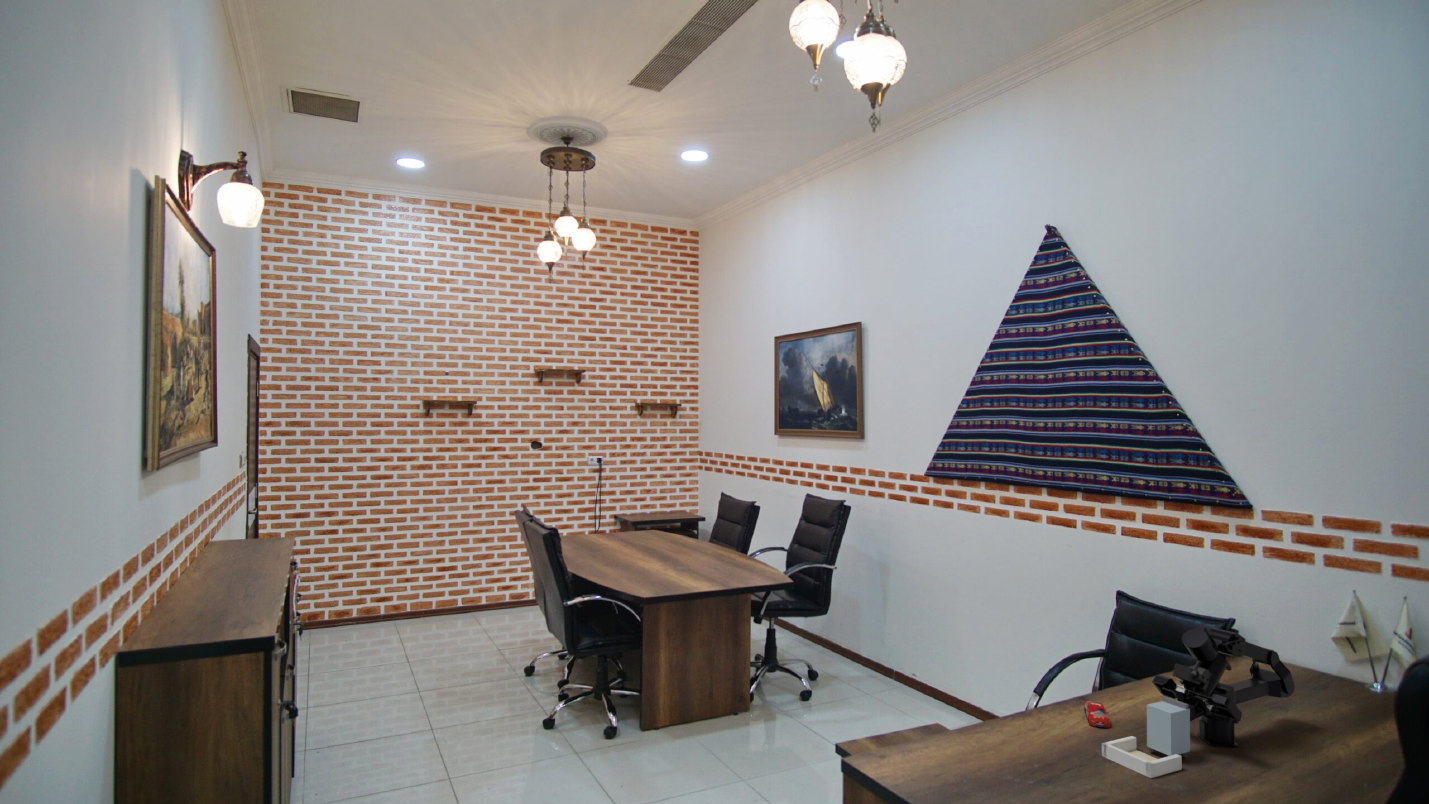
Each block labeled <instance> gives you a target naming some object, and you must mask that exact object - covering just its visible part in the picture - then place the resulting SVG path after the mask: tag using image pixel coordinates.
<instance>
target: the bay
mask: <svg viewBox="0 0 1429 804" xmlns="http://www.w3.org/2000/svg"><path fill="white" fill-rule="evenodd" d="M1101 757H1103V758H1105V759H1107V760H1109V761H1112V762H1113V763H1116V764H1119V765H1121V766H1123V767H1124V768H1127V769H1129V770H1132V771H1134V772H1136V773H1138V774H1141V775H1142V776H1144V777H1147V778H1149V779H1153V778H1157V777H1160V776H1165V775H1168V774H1170V773H1174V772H1177V771H1181V770H1183V769H1182V765H1183V764H1182V761H1183V760H1182V759H1183V758H1182V757H1183V756H1181V754H1178V755H1177V754H1175V755H1171V756H1169V755H1167V756H1164V757H1161V758H1156V757H1154V756H1151V755H1149V754H1147V753H1144V752H1143V751H1140V750H1137V737H1136V736H1133V735H1131V736H1126V737H1122V738H1118V739H1114V740H1113V739H1112V740H1110V741H1106V742H1102V743H1101Z"/></svg>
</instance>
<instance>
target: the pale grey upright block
mask: <svg viewBox="0 0 1429 804" xmlns="http://www.w3.org/2000/svg"><path fill="white" fill-rule="evenodd" d="M1146 747H1148V751H1149V752H1151V753H1154V754H1155V753H1156V752H1157V751H1158V752H1159V753H1162V754H1164V755H1167V756H1171V755H1175V754H1177V755H1180V756H1182V757H1183V758H1188V757H1189V754H1190V752H1191V721H1190V709H1189V708H1188V704H1186V703H1183V702H1180V701H1178V700H1177V699H1172V698H1169V697H1166V696H1163V697H1162V700H1161V701H1157V702H1153V703H1149V704H1146Z"/></svg>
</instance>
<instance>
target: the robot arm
mask: <svg viewBox="0 0 1429 804" xmlns="http://www.w3.org/2000/svg"><path fill="white" fill-rule="evenodd" d="M1181 641H1182V643H1183V645H1184V646H1185V648H1186V649H1187V650H1188V652H1189V654H1190V655H1191V657H1193V659H1195V660H1196V663H1195V665H1194V666H1192V665H1190V666H1186V665H1184V664H1183V665H1182V664H1179V663H1175V665H1174V669H1173V672H1172V677H1173V678H1178V679H1179V683H1180V684H1181V685H1179V684H1177V683H1176V681H1174V679H1173V678H1172V677H1169V676H1165V675H1161V674H1155V676H1154V677H1153V678H1152V680H1151V682H1152V684H1153V685H1154V687H1155V688H1156V689H1157V690H1158V692H1159V693H1160V694H1161V695H1162V696H1163V697H1168V698H1171V699H1174V700H1177V701H1180V702H1183V703H1186V704H1188V708H1189V709H1190V722H1193V720H1195V719H1196V720H1197V719H1199V718H1201V719H1199V721H1198V722H1199V726H1198V727H1199V731H1198V733H1197V736H1198V737H1200V739H1202V740H1203V741H1205V742H1206V743H1207V744H1208V745H1210V746H1212V747H1230V748H1232V747H1233V748H1238V747H1239V744H1238V743H1237V742H1236V741H1235V724H1237V725H1238V724H1240V723H1239V722H1240V721H1241V720H1242V715H1243V711H1241V709H1240V707H1239V706H1238V705H1241V704H1243V703H1244V704H1245V703H1247V702H1250V701H1253V700H1257V699H1261V698H1264V697H1273V698H1281V699H1288V698H1290V696H1292V695H1293V694H1294V693H1295V690H1296V689H1295V688H1296V685H1295V682H1294V679H1293V678H1294V677H1293V676H1292V673H1291V671H1290V670H1289V668H1288V667H1287V666H1286V665H1285V664H1284V663H1283V662H1282V660H1281V659H1280V655H1279V654H1278V652H1277V651H1275V650H1273V649H1270V648H1267V647H1263V646H1259V645H1256V644H1254V643H1251V642H1248V641H1246V637H1244V636H1242V635H1241V634H1239V633H1237V632H1233V631H1228V630H1225V629H1224V630H1223V629H1220V628H1217V627H1210V628H1209V630H1208V629H1207V627H1206V626H1202V625H1197V626H1196V627H1195V628H1192V629H1189V630H1187V631H1185V632H1183V634H1182V636H1181ZM1225 655H1228V656H1230V657H1240V658H1241V657H1243V658H1244V657H1245V658H1248V659H1250V660H1251V661H1252V664H1251V666H1250V667H1249V673H1250V676H1251V678H1247V679H1243V680H1241V681H1236V682H1233V683H1230V684H1225V683H1222V682H1220V680H1221V678H1222V677H1223V675H1224V673H1225V671H1229V672H1230V671H1232V665H1231V663H1230V659H1229V658H1226V656H1225ZM1260 664H1264V665H1268V666H1270V667H1271V669H1272V670H1270V669H1269V670H1268V669H1265V668H1260ZM1241 722H1242V721H1241Z"/></svg>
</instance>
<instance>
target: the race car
mask: <svg viewBox="0 0 1429 804" xmlns="http://www.w3.org/2000/svg"><path fill="white" fill-rule="evenodd" d="M1083 711H1084V715H1085V717H1086V720H1087V723H1089V724H1088V725H1089V726H1093V727H1098V728H1111V720H1110V717H1109V715H1108V714H1110V712H1109V711H1107V710H1106V708H1105V705H1104V704H1103V703H1102V702H1100V701H1099V702H1098V701H1090V700H1089V701H1088V700H1087V701H1085V703H1084V710H1083Z"/></svg>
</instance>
